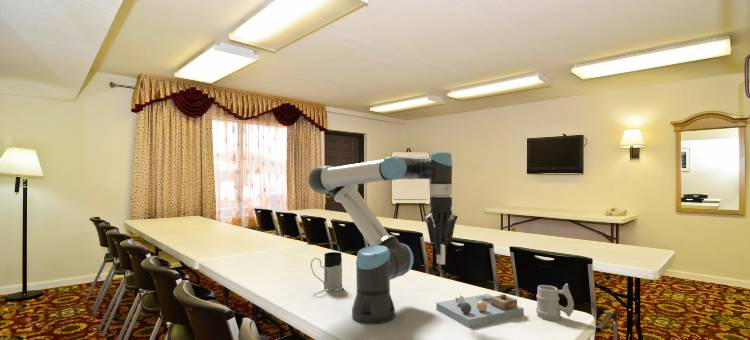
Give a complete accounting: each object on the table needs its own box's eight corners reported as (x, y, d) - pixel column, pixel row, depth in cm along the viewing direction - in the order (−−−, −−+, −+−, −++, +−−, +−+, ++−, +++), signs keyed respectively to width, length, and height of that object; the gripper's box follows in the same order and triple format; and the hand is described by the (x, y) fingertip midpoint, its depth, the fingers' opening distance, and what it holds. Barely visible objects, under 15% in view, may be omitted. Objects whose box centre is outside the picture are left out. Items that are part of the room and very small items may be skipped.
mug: (537, 311, 131) (536, 277, 131) (574, 316, 125) (573, 281, 125) (534, 318, 124) (534, 282, 125) (574, 324, 118) (573, 287, 119)
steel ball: (459, 307, 128) (458, 297, 128) (453, 304, 131) (452, 294, 131) (467, 306, 129) (466, 296, 129) (460, 303, 133) (460, 293, 133)
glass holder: (345, 289, 159) (345, 254, 159) (313, 293, 154) (313, 257, 154) (339, 284, 167) (339, 251, 167) (309, 287, 162) (308, 253, 162)
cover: (503, 309, 124) (503, 299, 125) (490, 304, 130) (489, 293, 130) (517, 307, 127) (517, 296, 127) (503, 301, 133) (503, 291, 133)
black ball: (465, 315, 120) (464, 305, 120) (458, 312, 123) (458, 301, 124) (473, 314, 122) (473, 303, 122) (466, 310, 125) (466, 300, 125)
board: (468, 327, 117) (468, 319, 117) (436, 309, 133) (436, 302, 133) (523, 315, 127) (523, 308, 127) (487, 300, 143) (487, 293, 143)
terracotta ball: (481, 313, 122) (481, 303, 122) (474, 310, 125) (474, 300, 125) (489, 312, 123) (489, 301, 123) (482, 308, 127) (482, 298, 127)
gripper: (432, 197, 122) (431, 267, 122) (462, 196, 128) (462, 263, 127) (419, 195, 129) (419, 263, 128) (449, 195, 134) (449, 259, 134)
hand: (440, 263), depth 128 cm, fingers closed
